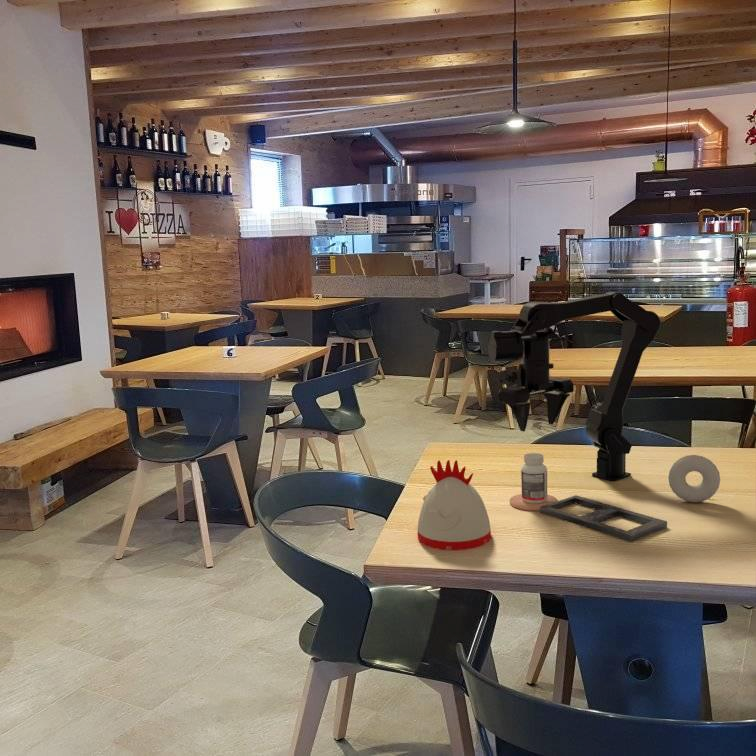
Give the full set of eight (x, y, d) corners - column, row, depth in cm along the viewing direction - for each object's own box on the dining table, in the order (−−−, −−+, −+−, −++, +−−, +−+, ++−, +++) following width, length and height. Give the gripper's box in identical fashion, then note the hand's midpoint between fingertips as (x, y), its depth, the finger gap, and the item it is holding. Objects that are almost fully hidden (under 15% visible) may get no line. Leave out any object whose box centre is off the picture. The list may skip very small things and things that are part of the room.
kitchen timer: (430, 521, 161) (428, 449, 158) (498, 527, 156) (496, 452, 153) (408, 546, 148) (404, 468, 146) (480, 553, 143) (478, 473, 141)
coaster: (532, 492, 176) (532, 490, 176) (567, 503, 168) (567, 500, 168) (499, 502, 170) (499, 500, 170) (534, 514, 162) (534, 511, 162)
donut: (718, 500, 165) (719, 453, 164) (720, 505, 162) (722, 458, 160) (667, 498, 168) (668, 452, 166) (668, 503, 165) (669, 456, 163)
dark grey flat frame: (575, 500, 169) (575, 495, 169) (667, 527, 151) (667, 521, 151) (540, 512, 163) (539, 506, 163) (630, 542, 145) (630, 535, 145)
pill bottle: (527, 494, 172) (527, 451, 171) (551, 498, 169) (551, 453, 168) (517, 502, 168) (516, 457, 166) (541, 505, 165) (541, 460, 163)
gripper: (538, 351, 189) (538, 415, 192) (480, 361, 179) (482, 429, 181) (575, 355, 180) (575, 423, 183) (516, 365, 170) (517, 437, 172)
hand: (537, 427), depth 180 cm, fingers open, 9 cm apart
